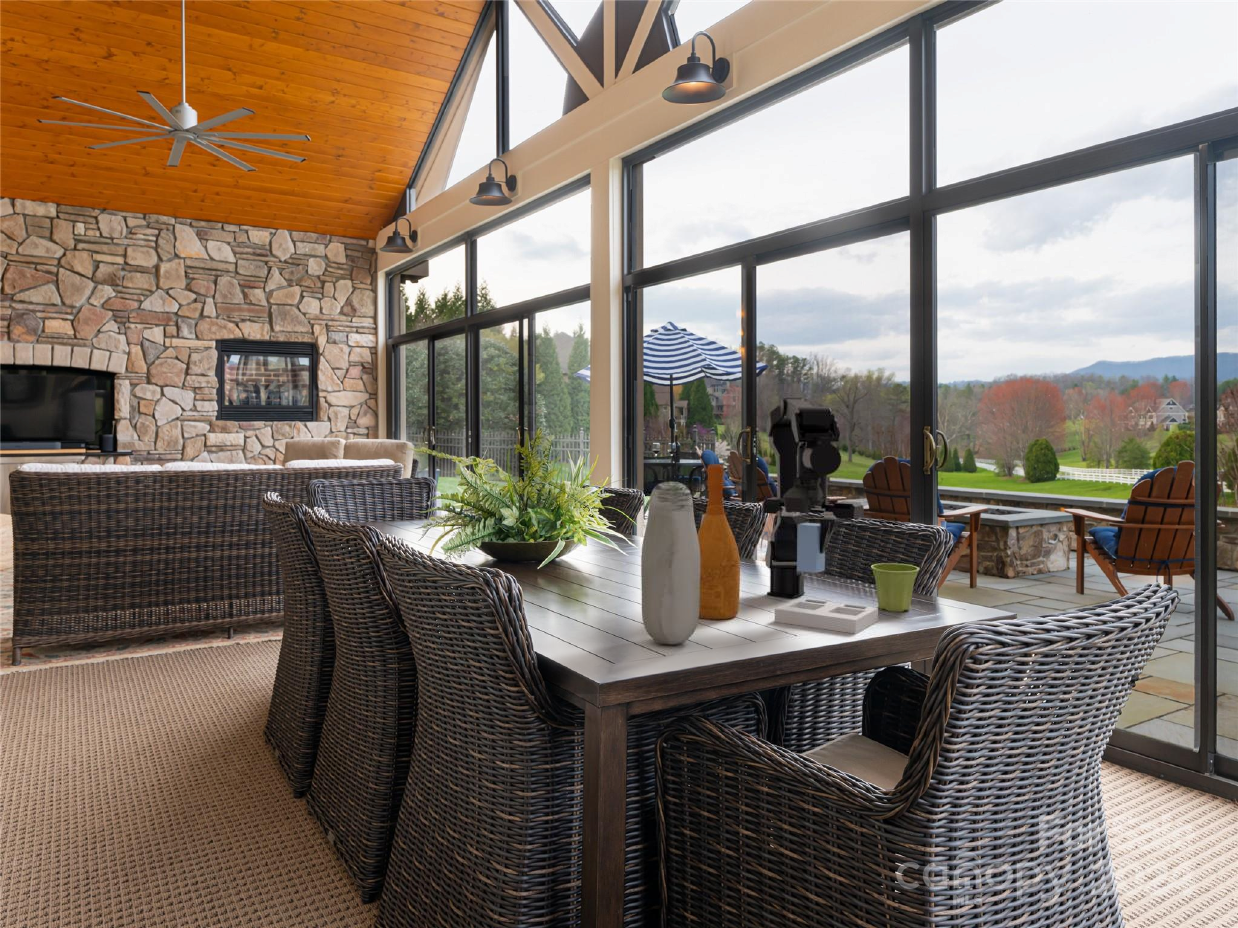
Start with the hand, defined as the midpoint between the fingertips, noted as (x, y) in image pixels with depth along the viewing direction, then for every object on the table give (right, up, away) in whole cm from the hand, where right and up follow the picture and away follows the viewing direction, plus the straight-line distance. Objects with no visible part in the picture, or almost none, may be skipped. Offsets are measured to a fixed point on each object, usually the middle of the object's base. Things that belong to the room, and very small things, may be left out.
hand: (811, 552), depth 167 cm
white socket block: (+3, -13, -1) cm, 13 cm away
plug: (0, -4, 0) cm, 4 cm away
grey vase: (-28, -14, -17) cm, 36 cm away
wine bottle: (-18, -13, +4) cm, 23 cm away
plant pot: (+19, -13, +10) cm, 25 cm away
